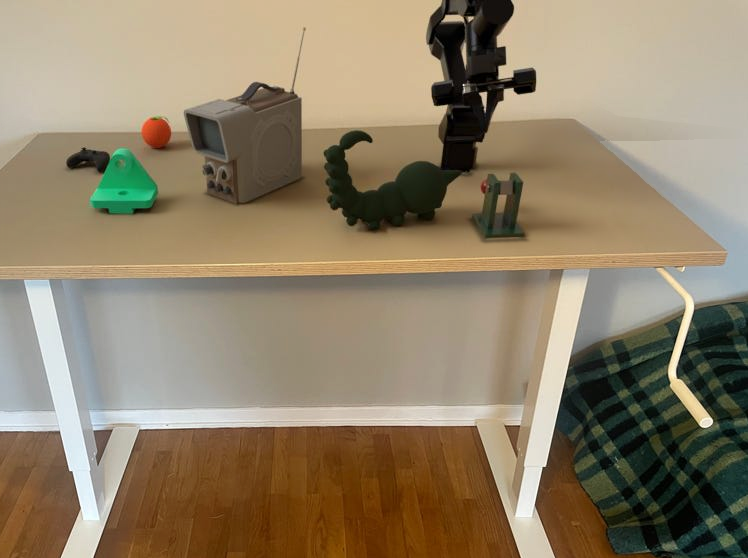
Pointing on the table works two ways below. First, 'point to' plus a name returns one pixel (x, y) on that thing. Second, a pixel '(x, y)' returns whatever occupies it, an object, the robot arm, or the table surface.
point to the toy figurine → (385, 188)
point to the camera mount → (124, 185)
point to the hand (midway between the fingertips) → (484, 132)
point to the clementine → (156, 132)
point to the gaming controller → (89, 158)
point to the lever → (501, 187)
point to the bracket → (500, 222)
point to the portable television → (249, 141)
